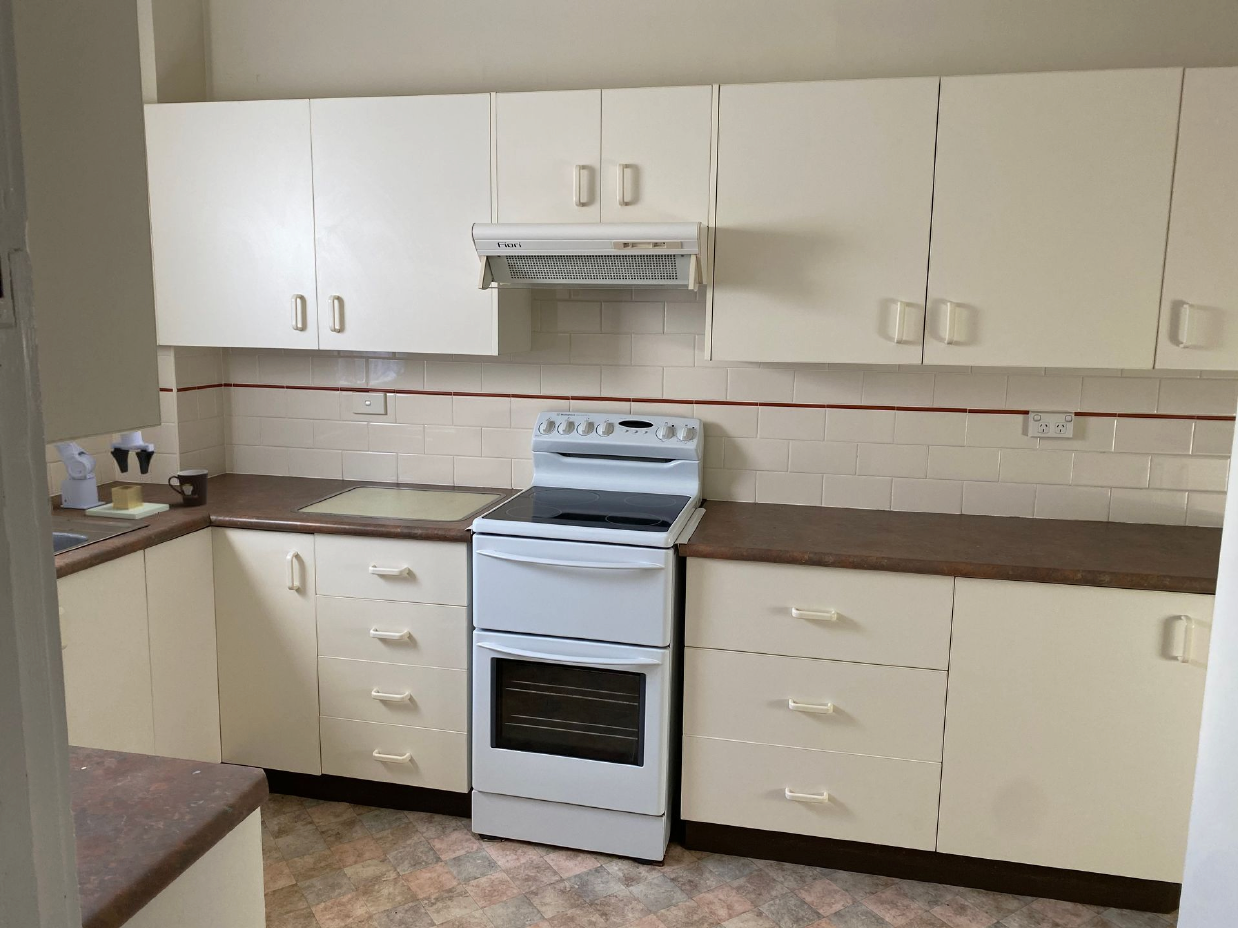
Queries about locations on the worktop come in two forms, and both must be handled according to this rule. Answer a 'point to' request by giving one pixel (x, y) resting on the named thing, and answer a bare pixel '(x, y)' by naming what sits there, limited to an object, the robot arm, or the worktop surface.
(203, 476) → the coffee mug
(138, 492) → the brass collar
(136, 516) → the post stand
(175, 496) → the worktop surface
